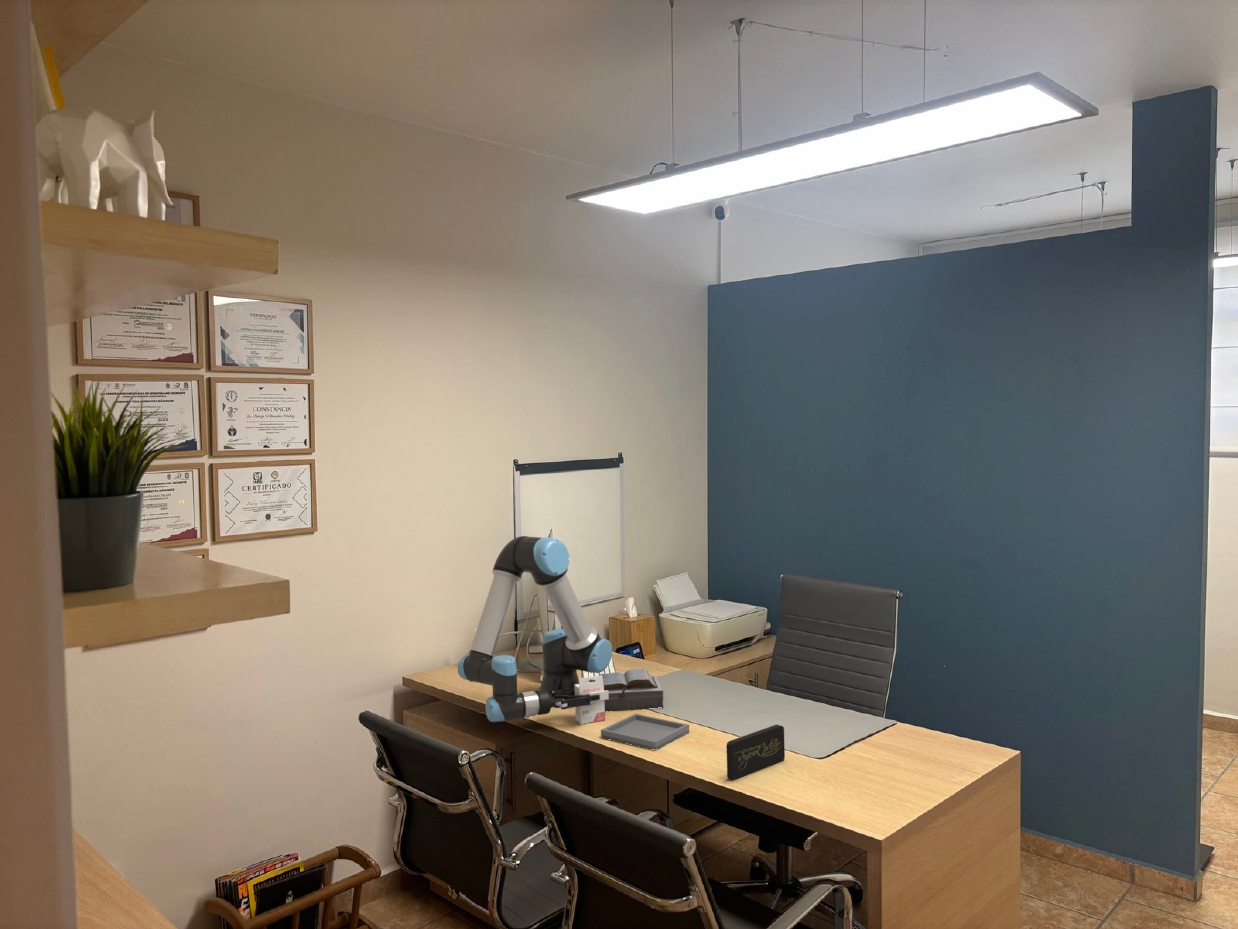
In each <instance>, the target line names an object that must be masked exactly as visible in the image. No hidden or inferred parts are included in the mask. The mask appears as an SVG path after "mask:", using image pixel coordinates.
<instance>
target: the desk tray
mask: <svg viewBox="0 0 1238 929" xmlns="http://www.w3.org/2000/svg"><path fill="white" fill-rule="evenodd" d="M689 733H690V724H688V723H682V722H678V721H673V720H669V719H664V718H660V717H659V718H658V717H655V716H649V715H645V714H644V715H643V714H639V713H634V714H632V715H629V716H627V717H625V718H623V719H621V720H619V721H616V722H615V723H613V724H611V725H609V726H606V727H604V728H602V729H600V737H602V738H601V739H603V738H605V739H604V740H607V739H611V740H610V741H612V740H615V741H614V742H616V741H619V742H618V743H620V742H622V743H621V744H625V743H628V744H627V745H629V744H632V745H631V746H633V745H635V746H634V747H637V746H640V747H639V748H642V747H644V748H643V749H646V748H648V749H647V750H650V749H655V750H656V749H658V750H660V749H662V748H663V747H662V746H664V747H666V746H667V745H669V744H671V743H673V742H674V740H675V741H676V739H677V740H679V739H680V738H682V737H684V736H686V735H688V734H689ZM668 743H669V744H668ZM666 744H667V745H666ZM665 745H666V746H665ZM661 747H662V748H661ZM659 748H660V749H659ZM655 750H654V751H655ZM656 751H657V750H656Z"/></svg>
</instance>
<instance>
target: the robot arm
mask: <svg viewBox="0 0 1238 929" xmlns="http://www.w3.org/2000/svg"><path fill="white" fill-rule="evenodd" d="M569 558H570V553H569V549H568V547H567V546H566V545H565V544H564V543H563V541H561V540H560V539H557V538H553V537H548V536H547V537H542V536H541V537H538V536H525V535H521V536H518V537H515V538H513V539H511V540H509V541H508V542H507V543H506V544H505V546H504V547H503V548H502V549H501V551H500V553H499V554H498V556H497V558H496V560H495V562H494V565H493V568H492V574H493V578H492V581H491V584H490V587H489V591H488V594H487V597H486V600H485V603H484V607H483V610H482V613H481V615H480V619H479V622H478V625H477V629H476V631H475V634H474V638H473V640H472V644H471V647H470V650H469V653H468V655H465V656H462V657H461V659H460V660H459V661H458V664H457V674H458V676H459V677H460V678H461V679H463V680H466V681H469V682H472V683H479V684H483V685H487V686H491V687H492V696H490V697H487V698H486V700H485V713H486V717H487V720H488V721H489V722H491V723H497V722H506V721H511V720H515V719H516V720H517V719H524V718H526V719H529V718H530V717H535V716H537V715H538V716H543V715H548V714H550V712H551V709H552V708H556V709H561V710H566V709H569V708H570V709H571V708H575V707H578V706H585V705H590V702H594V701H600V700H607V699H609V692H608V690H606V691H599V692H593V693H589V694H587V695H575V688H574V685H575V684H579V679H580V677H579V676H578V671H582V672H586V673H590V674H592V673H593V674H594V673H595V674H601V673H602V672H604V671H605V670H606V669H607V668H608V667H609V665H610V662H611V659H612V656H613V646H612V643H611V642H610V640H608V639H606V638H602V637H601V636H600V634H599V631H598V630H597V629H596V627H595V626H591V625H590V624H589V621H588V619H587V617H586V615H585V612H584V610H583V608H582V606H581V604H580V601H579V599H578V597H577V595H576V593H575V591H574V589H573V586H572V585H571V583H570V580H569V578H568V576H567V573H568V570H569V565H570V560H569ZM524 573H529V574H530V575H531V577H532V579H533V581H534V583H535V584H536V585H538V586H540V587H542V588H543V590H544V593H545V594H546V597H547V599H548V601H549V603H550V605H551V607H552V608H553V611H554V613H555V615H556V617H557V620H558V621H559V623H560V626H561V627H562V628H557V629H552V630H548V631H545V632H544V633H543V635H542V643H541V645H542V648H541V649H542V662H543V663H542V664H543V676H542V679H541V684H540V687H539V689H538V690H535V691H534V690H530V691H524V692H518V668H517V661H516V660H517V659H516V658H515V657H514V656H512V655H505V654H503V655H502V654H500V655H497V656H494V654H495V651H496V648H497V644H498V642H499V639H500V635H501V632H502V628H503V625H504V622H505V620H506V616H507V613H508V609H509V606H510V603H511V599H512V598H513V595H514V591H515V587H516V585H517V583H518V582H519V581H521V579H522V576H523V574H524Z"/></svg>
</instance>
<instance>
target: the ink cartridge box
mask: <svg viewBox="0 0 1238 929" xmlns="http://www.w3.org/2000/svg"><path fill="white" fill-rule="evenodd" d="M599 675H600V674H599ZM599 675H595V676H594V675H593V676H586V677H579V684H575V685H574V688H575V695H587V694H589V693H593V692H599V691H604V685H603V677H602V675H600V676H599ZM590 679H591V680H595V682H590V683H589V680H590ZM574 708H575V710H574V711H575V721H576V720H577V721H578V724H579V725H585V724H584V723H586V724H590V723H589V722H592V723H596V722H597V723H598V722H602V721H603V720H604V721H606V712H605V704H604V700H600V701H594V702H590V705H585V706H578V707H574ZM577 721H576V722H577Z"/></svg>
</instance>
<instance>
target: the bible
mask: <svg viewBox="0 0 1238 929" xmlns="http://www.w3.org/2000/svg"><path fill="white" fill-rule="evenodd" d="M600 675H602V677H603V685H604V691H606V690H608V692H609V699H607V700H604V704H605V713H606V711H608V712H610V711H612V712H627V711H628V710H629V711H639V710H640V711H643V710H642V709H649V708H658V707H662V709H663V708H664V703H663V702H664V688H663V686H662V684H661V682H660V680H659V677H658V675H651V674H650V673H649V671H648V670H647V669H646V668H636V669H635V668H634V669H633V668H632V669H628V670H626V671H625V672H624V673H623V672H619V671H616V672H610V673H609V672H608V673H599V675H598V676H600ZM590 682H595V680H591V679H590V680H589V681H588V683H590ZM649 710H650V709H649Z"/></svg>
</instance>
